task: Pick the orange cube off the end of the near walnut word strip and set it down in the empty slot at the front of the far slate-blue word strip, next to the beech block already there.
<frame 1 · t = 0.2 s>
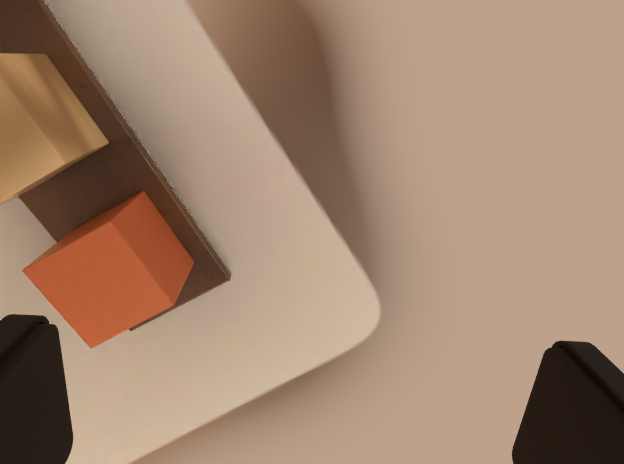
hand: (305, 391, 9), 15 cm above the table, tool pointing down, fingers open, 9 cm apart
orange cube: (134, 246, 23), point 1 cm above the table, touching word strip
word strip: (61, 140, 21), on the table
tile a: (40, 123, 20), point 1 cm above the table, touching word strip
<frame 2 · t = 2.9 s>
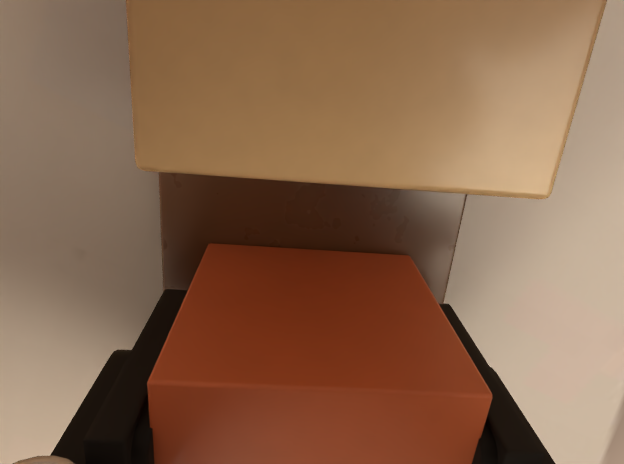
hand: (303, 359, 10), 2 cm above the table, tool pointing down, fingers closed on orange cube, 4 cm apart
orange cube: (302, 334, 10), point 1 cm above the table, touching gripper, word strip
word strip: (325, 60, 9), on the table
tile a: (333, 1, 8), point 1 cm above the table, touching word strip
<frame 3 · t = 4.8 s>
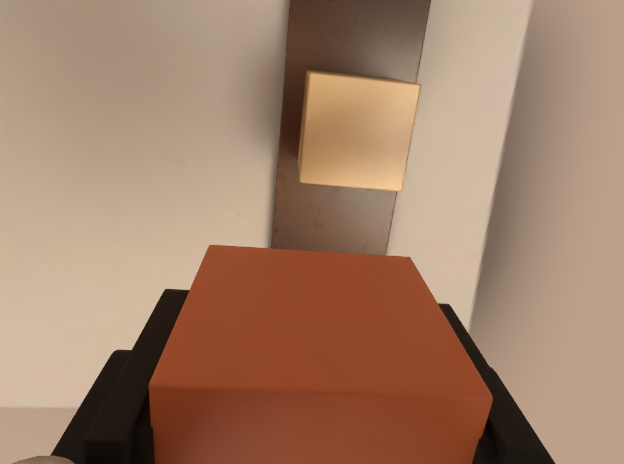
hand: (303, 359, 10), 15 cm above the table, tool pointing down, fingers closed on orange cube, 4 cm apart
orange cube: (303, 335, 10), point 14 cm above the table, touching gripper
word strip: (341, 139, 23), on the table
tile a: (345, 121, 22), point 1 cm above the table, touching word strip
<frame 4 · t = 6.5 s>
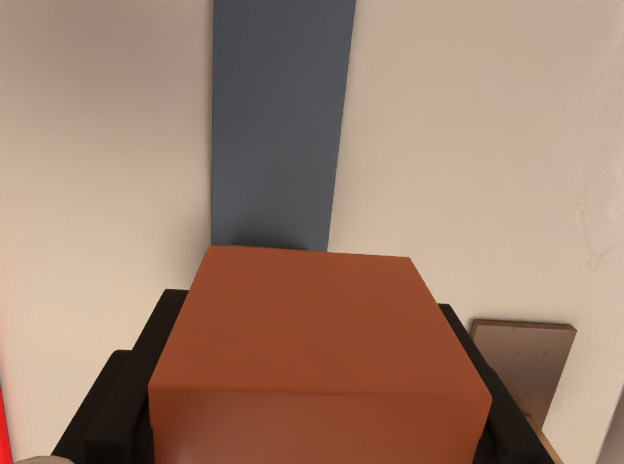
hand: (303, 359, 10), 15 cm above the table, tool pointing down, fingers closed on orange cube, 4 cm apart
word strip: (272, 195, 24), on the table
orange cube: (303, 335, 10), point 14 cm above the table, touching gripper
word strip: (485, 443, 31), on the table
tile a: (492, 439, 30), point 1 cm above the table, touching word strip
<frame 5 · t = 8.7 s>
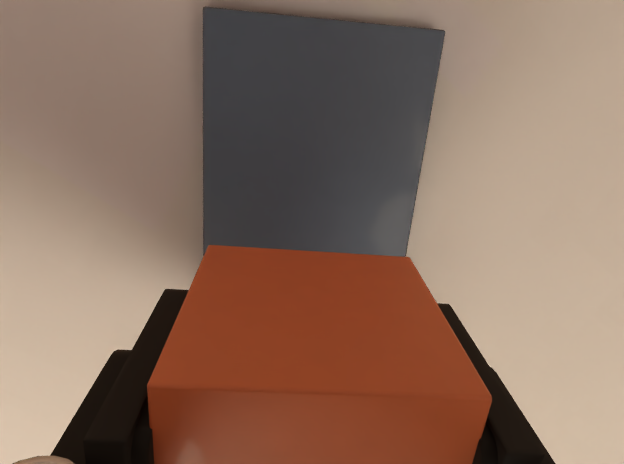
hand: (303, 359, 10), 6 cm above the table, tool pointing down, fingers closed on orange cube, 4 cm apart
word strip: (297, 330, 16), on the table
orange cube: (302, 335, 10), point 5 cm above the table, touching gripper
when the fingers open (2 cm above the table, at t = 10.1 s): orange cube stays where it is, resting on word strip.
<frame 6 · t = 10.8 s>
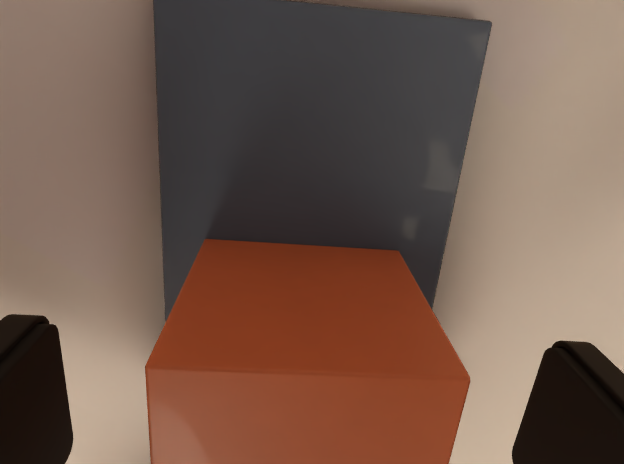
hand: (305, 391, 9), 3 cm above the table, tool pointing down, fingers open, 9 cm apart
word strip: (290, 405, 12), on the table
orange cube: (296, 327, 11), point 1 cm above the table, touching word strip
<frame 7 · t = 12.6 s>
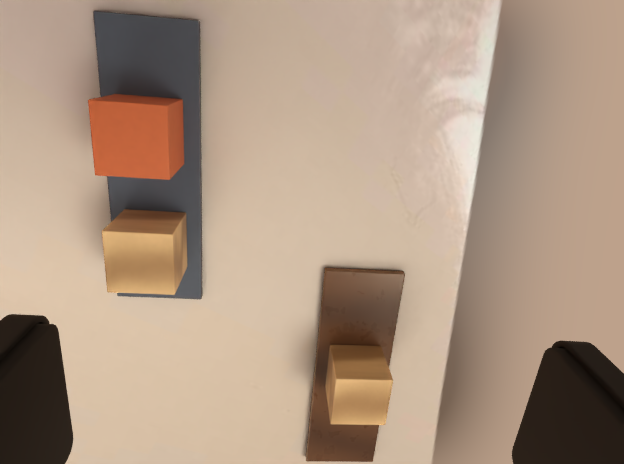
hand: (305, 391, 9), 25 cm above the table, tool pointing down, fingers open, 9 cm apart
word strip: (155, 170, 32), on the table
orange cube: (150, 130, 30), point 1 cm above the table, touching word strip
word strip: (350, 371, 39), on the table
tile a: (352, 366, 38), point 1 cm above the table, touching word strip
tile o: (156, 238, 33), point 1 cm above the table, touching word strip
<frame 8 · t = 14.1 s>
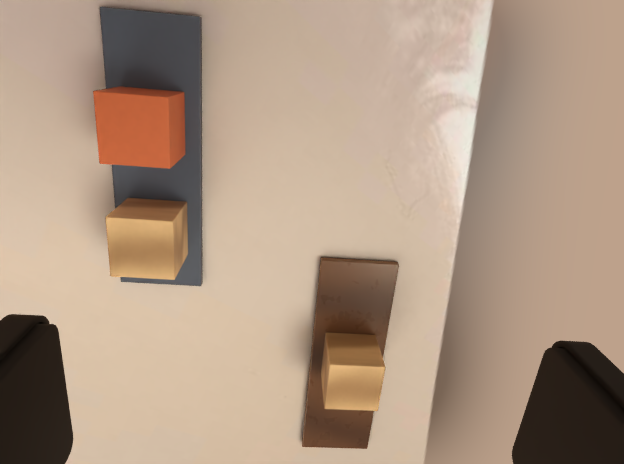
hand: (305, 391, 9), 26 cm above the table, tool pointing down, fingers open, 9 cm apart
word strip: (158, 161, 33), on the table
orange cube: (153, 121, 32), point 1 cm above the table, touching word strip
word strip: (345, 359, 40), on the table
tile a: (347, 354, 39), point 1 cm above the table, touching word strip
tile o: (158, 226, 34), point 1 cm above the table, touching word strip
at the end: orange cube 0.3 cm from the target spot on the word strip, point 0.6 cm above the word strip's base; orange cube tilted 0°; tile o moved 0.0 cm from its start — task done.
